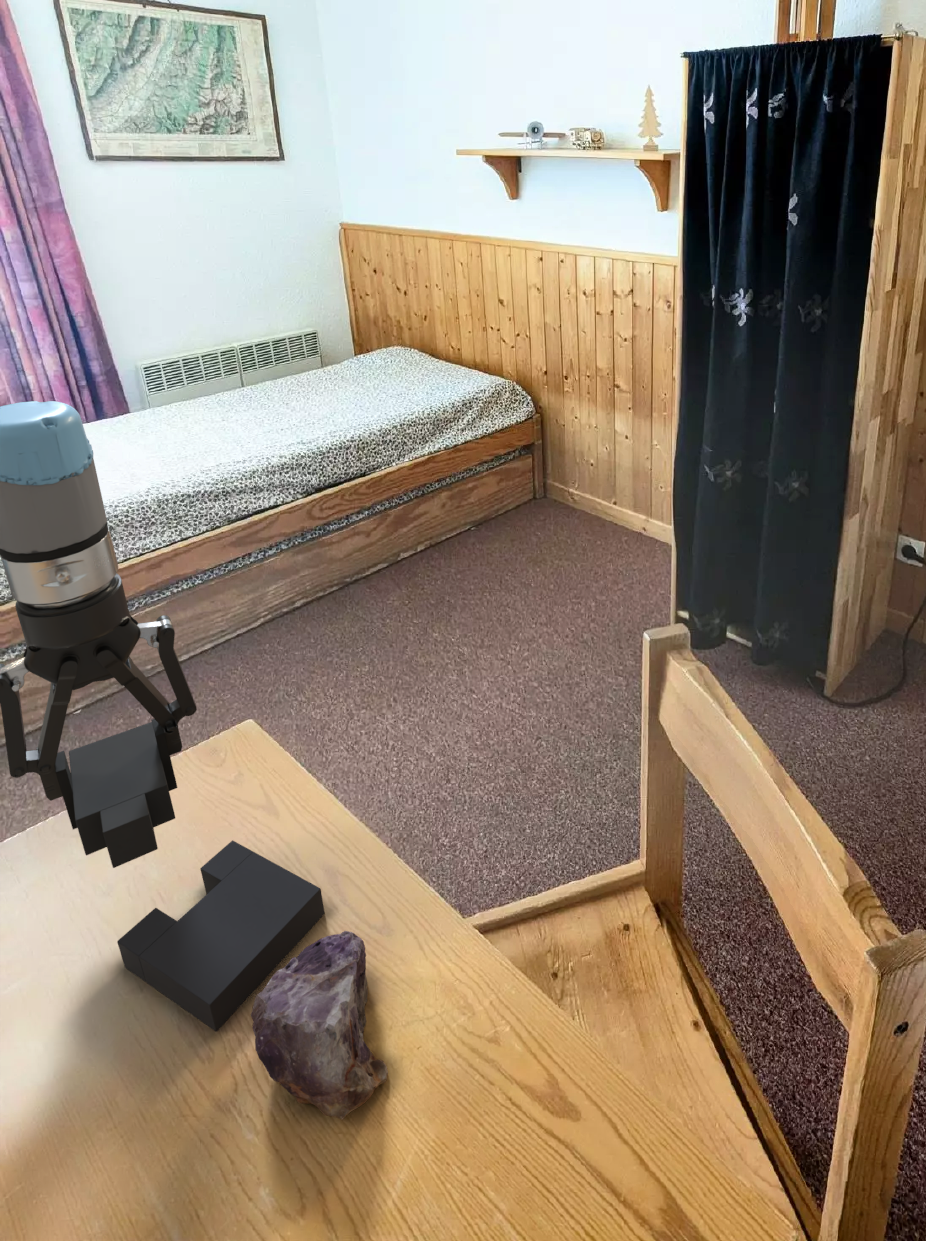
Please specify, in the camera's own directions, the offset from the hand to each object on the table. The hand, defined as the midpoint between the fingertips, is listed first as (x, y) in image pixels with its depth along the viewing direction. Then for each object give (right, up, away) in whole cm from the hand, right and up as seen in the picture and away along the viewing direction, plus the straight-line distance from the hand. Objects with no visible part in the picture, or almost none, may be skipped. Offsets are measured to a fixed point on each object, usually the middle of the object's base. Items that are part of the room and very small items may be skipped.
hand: (124, 798), depth 74 cm
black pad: (+1, -1, -1) cm, 1 cm away
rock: (+22, -17, -10) cm, 29 cm away
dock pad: (+10, -13, -1) cm, 17 cm away
